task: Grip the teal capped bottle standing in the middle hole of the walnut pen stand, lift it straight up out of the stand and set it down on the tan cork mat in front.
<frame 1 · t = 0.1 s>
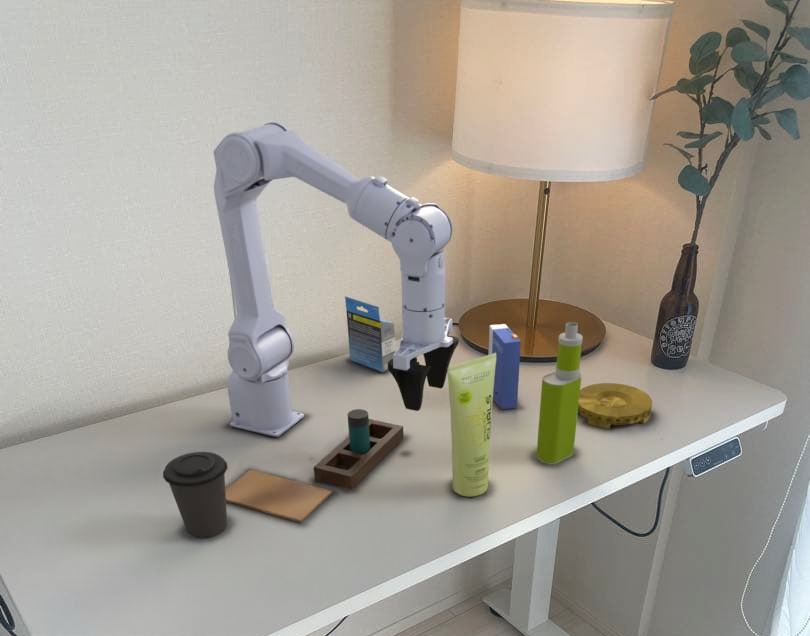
hand: (424, 397, 114), 10 cm above the table, tool pointing down, fingers open, 7 cm apart
teal capped bottle: (359, 436, 118), in the pen stand
pen stand: (360, 458, 121), on the table
yellow flat disc: (611, 412, 131), on the table
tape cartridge: (372, 364, 149), on the table
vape: (555, 455, 120), on the table
coffee cup: (207, 527, 107), on the table
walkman: (501, 400, 136), on the table
cork mat: (274, 495, 113), on the table
tube: (468, 489, 113), on the table
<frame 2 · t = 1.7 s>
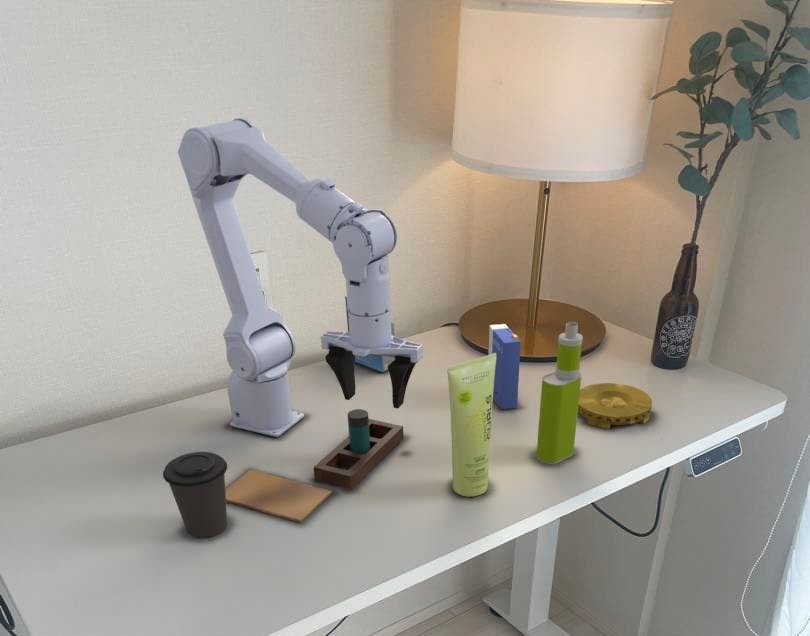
hand: (374, 401, 115), 10 cm above the table, tool pointing down, fingers open, 7 cm apart
nothing on the table moved.
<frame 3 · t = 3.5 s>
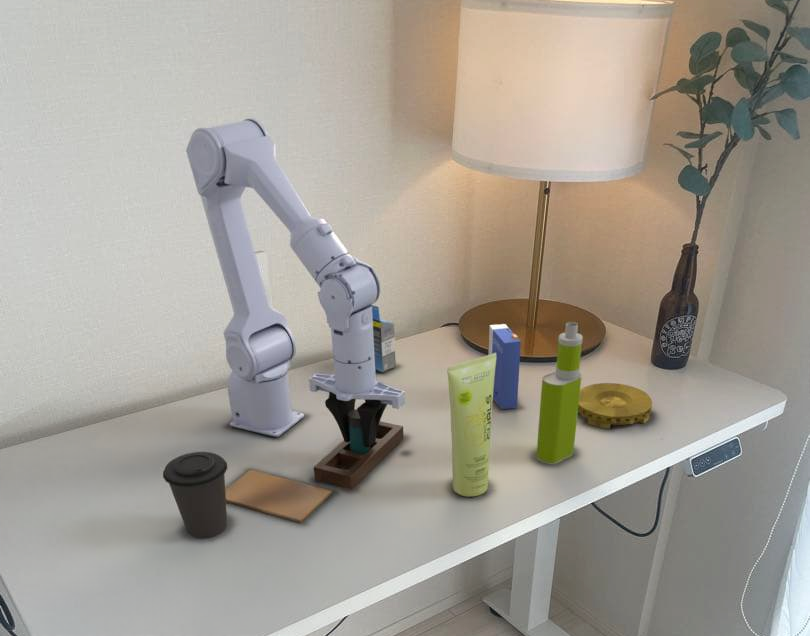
hand: (359, 441, 119), 3 cm above the table, tool pointing down, fingers closed on teal capped bottle, 3 cm apart
teal capped bottle: (359, 436, 118), in the pen stand, touching gripper
everything else where it was.
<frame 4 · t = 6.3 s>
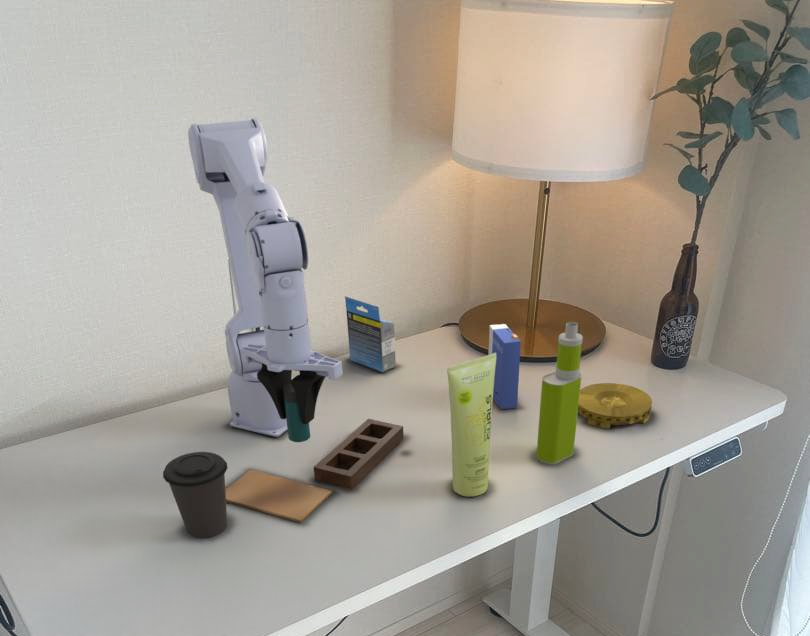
hand: (297, 418, 109), 10 cm above the table, tool pointing down, fingers closed on teal capped bottle, 3 cm apart
teal capped bottle: (296, 412, 109), point 11 cm above the table, touching gripper
everything else where it was.
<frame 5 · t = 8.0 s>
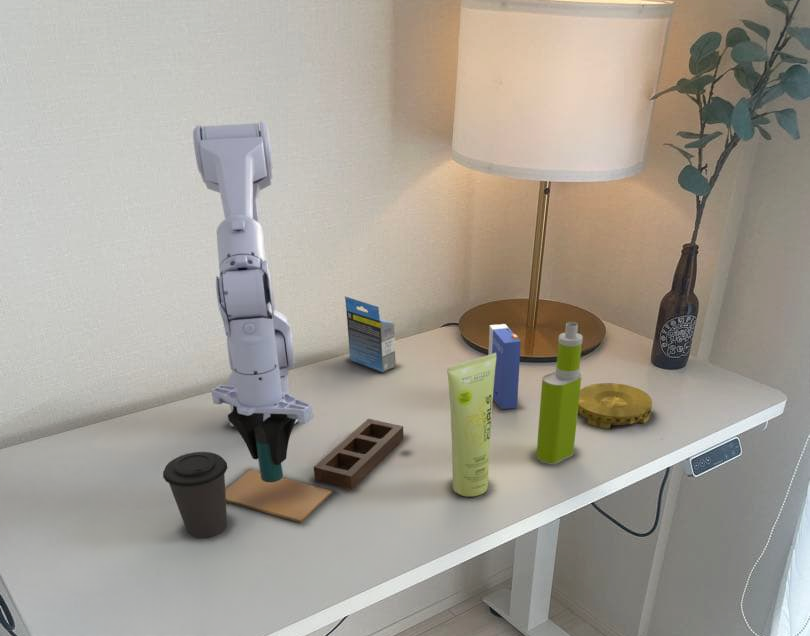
hand: (269, 458, 109), 6 cm above the table, tool pointing down, fingers closed on teal capped bottle, 3 cm apart
teal capped bottle: (268, 453, 109), point 7 cm above the table, touching gripper
everything else where it was.
when the fingers open (3 cm above the table, at t = 9.1 s): teal capped bottle stays where it is, resting on cork mat.
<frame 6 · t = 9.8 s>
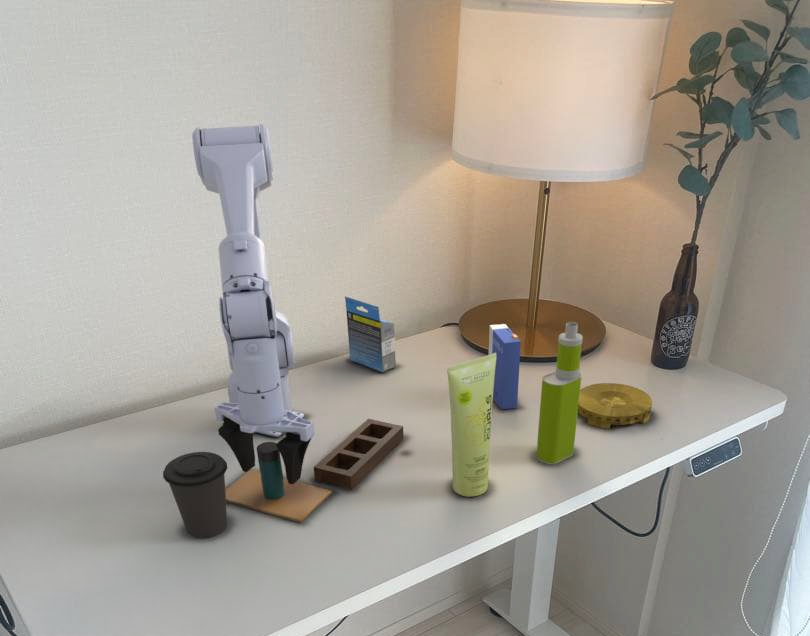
hand: (271, 474, 111), 4 cm above the table, tool pointing down, fingers open, 7 cm apart
teal capped bottle: (271, 470, 110), on the cork mat
everything else where it was.
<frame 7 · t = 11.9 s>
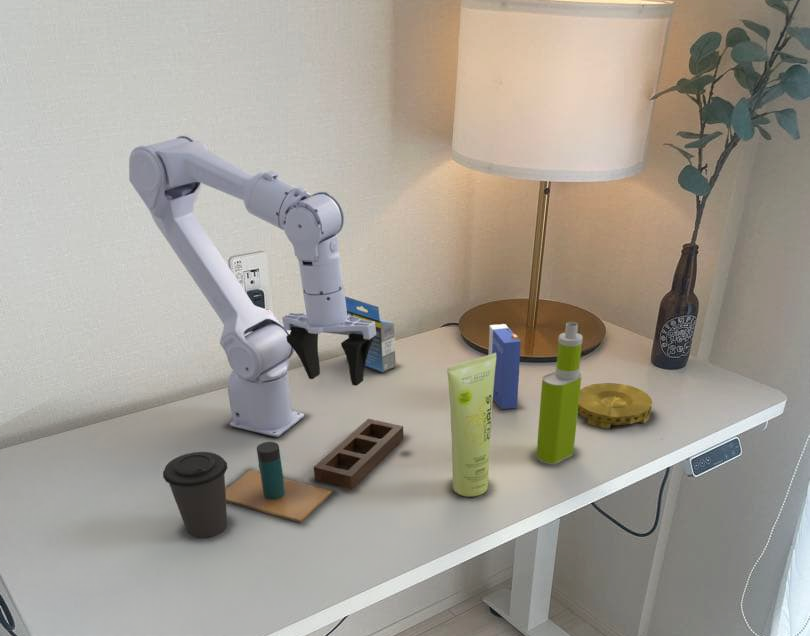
hand: (335, 379, 119), 10 cm above the table, tool pointing down, fingers open, 7 cm apart
nothing on the table moved.
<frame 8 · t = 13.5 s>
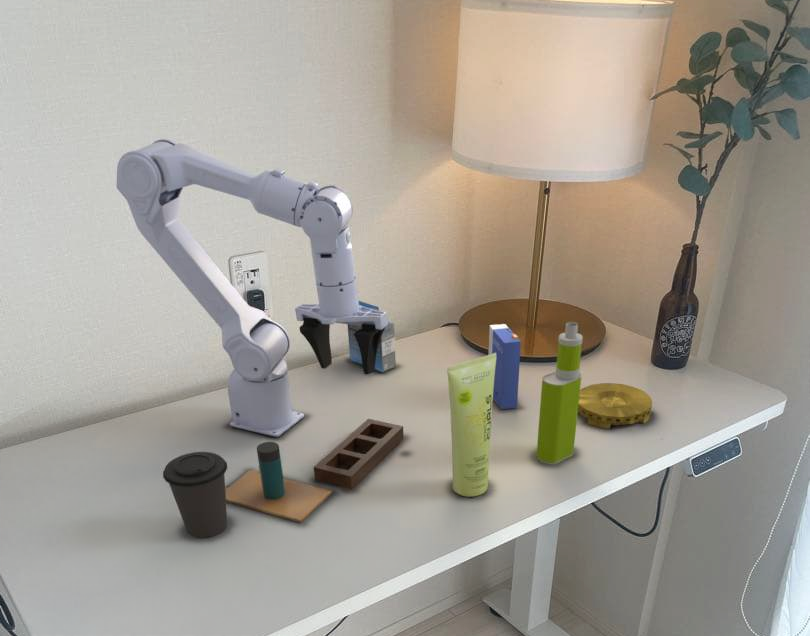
hand: (347, 368, 122), 10 cm above the table, tool pointing down, fingers open, 7 cm apart
nothing on the table moved.
at the end: teal capped bottle inside the target area on the cork mat (0.0 cm from its centre), point 4.1 cm above the cork mat's base; teal capped bottle moved 15.2 cm from its start; the gripper is holding nothing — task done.
